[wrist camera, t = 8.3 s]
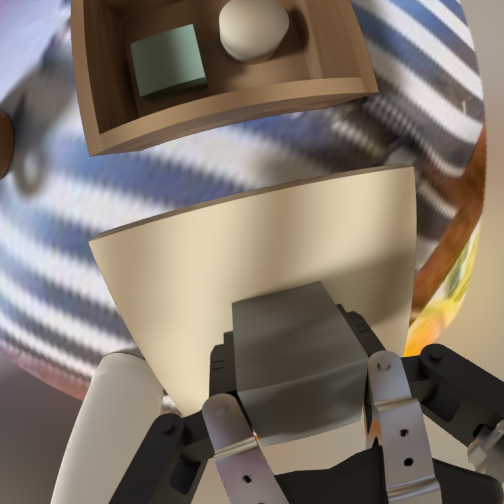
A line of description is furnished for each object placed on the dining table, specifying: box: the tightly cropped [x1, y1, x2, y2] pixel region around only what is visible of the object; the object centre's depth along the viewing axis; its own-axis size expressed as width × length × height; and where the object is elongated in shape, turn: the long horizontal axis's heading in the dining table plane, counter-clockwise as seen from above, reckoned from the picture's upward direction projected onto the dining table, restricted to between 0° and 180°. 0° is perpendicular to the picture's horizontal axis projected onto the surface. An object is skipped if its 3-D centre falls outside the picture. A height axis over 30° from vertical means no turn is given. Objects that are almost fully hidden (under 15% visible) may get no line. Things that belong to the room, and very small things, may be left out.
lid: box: [89, 164, 416, 447], centre depth 11 cm, size 15×13×7 cm
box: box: [71, 0, 379, 157], centre depth 12 cm, size 14×12×8 cm
